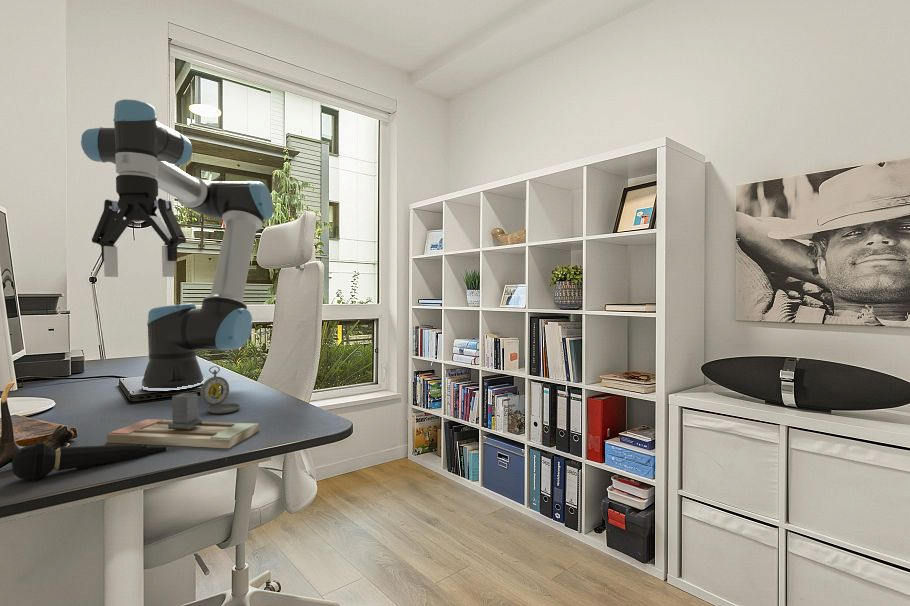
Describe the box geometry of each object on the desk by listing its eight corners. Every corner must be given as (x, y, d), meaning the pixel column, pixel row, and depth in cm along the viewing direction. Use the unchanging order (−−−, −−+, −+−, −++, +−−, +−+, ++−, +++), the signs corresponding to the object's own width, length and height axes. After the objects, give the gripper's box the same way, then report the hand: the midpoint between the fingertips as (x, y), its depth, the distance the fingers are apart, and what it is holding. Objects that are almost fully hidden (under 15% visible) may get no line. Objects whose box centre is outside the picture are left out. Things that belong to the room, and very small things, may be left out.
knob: (183, 422, 94) (182, 392, 94) (202, 423, 94) (201, 393, 94) (168, 428, 90) (167, 397, 90) (188, 429, 90) (187, 397, 90)
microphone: (161, 466, 85) (7, 484, 72) (162, 433, 87) (12, 444, 73) (170, 465, 82) (10, 483, 68) (171, 430, 83) (15, 441, 70)
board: (148, 426, 99) (148, 417, 98) (258, 431, 96) (258, 421, 95) (106, 442, 89) (106, 432, 89) (228, 448, 86) (228, 437, 86)
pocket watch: (232, 415, 107) (231, 370, 107) (194, 415, 107) (193, 370, 107) (247, 405, 116) (247, 364, 115) (212, 405, 116) (211, 364, 115)
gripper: (69, 174, 101) (72, 276, 102) (178, 171, 98) (181, 276, 99) (99, 182, 108) (102, 276, 109) (202, 179, 105) (204, 276, 106)
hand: (139, 277), depth 104 cm, fingers open, 13 cm apart
